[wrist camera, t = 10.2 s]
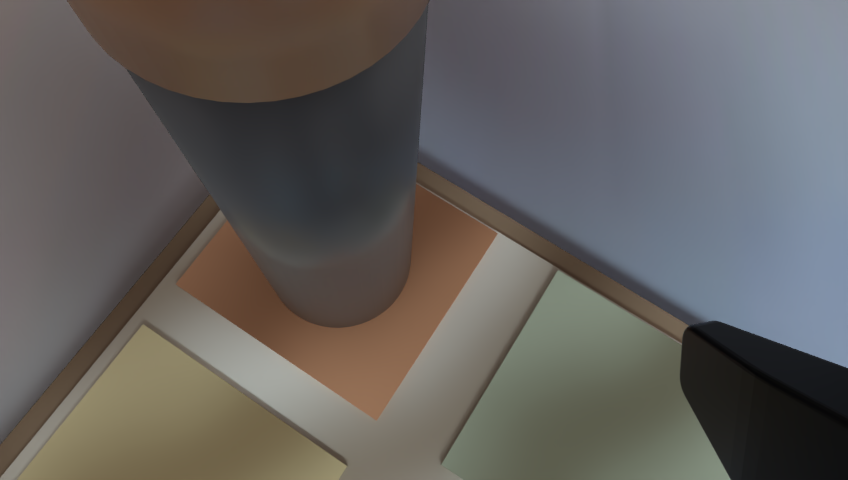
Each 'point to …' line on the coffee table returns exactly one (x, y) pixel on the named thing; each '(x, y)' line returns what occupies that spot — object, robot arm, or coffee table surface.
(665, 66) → the coffee table surface
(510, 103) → the coffee table surface
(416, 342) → the picture board
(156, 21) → the marker
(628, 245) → the coffee table surface
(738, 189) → the coffee table surface
